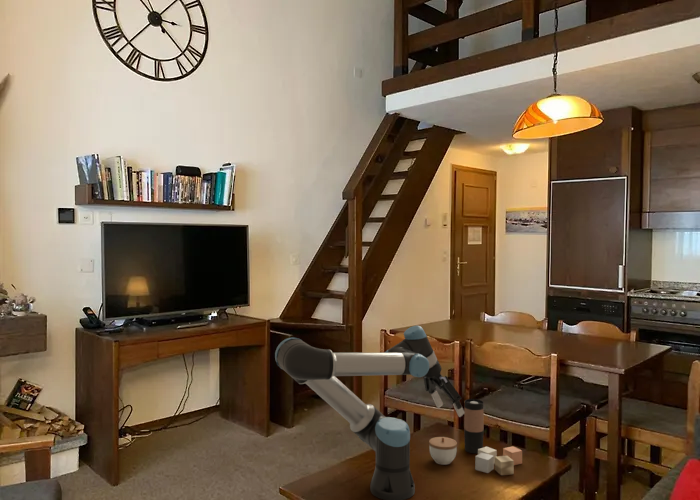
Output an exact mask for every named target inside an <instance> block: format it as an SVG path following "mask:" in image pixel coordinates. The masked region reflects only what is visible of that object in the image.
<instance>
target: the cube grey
mask: <svg viewBox="0 0 700 500" xmlns="http://www.w3.org/2000/svg"><path fill="white" fill-rule="evenodd" d="M474 457H475V459H474V460H475V464H474V465H475V467H474V469H475V471H478V472H483V473H486V474H489V473H490V472H491V471H493V470H495V464H494V456H493V455H489V454H485V453H480V454H478V453H477V455H475V456H474Z"/></svg>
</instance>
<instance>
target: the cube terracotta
mask: <svg viewBox="0 0 700 500" xmlns="http://www.w3.org/2000/svg"><path fill="white" fill-rule="evenodd" d="M502 456H508V457H510V458H511V459H512V460H513V461H514V466H517V465H521V464H523V450H521V449H520V448H518V447H516V446H508V447H503V448H502Z"/></svg>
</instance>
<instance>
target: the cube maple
mask: <svg viewBox="0 0 700 500" xmlns="http://www.w3.org/2000/svg"><path fill="white" fill-rule="evenodd" d="M514 466H515V465H514V461H513V460H512V459H511V458H510V457H508V456H503V455H499V456H496V457H495V464H494V470H495V471H496V472H497V473H498V474H499V475H500V476H508V475H514V474H515V473H514V471H515V469H514Z"/></svg>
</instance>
